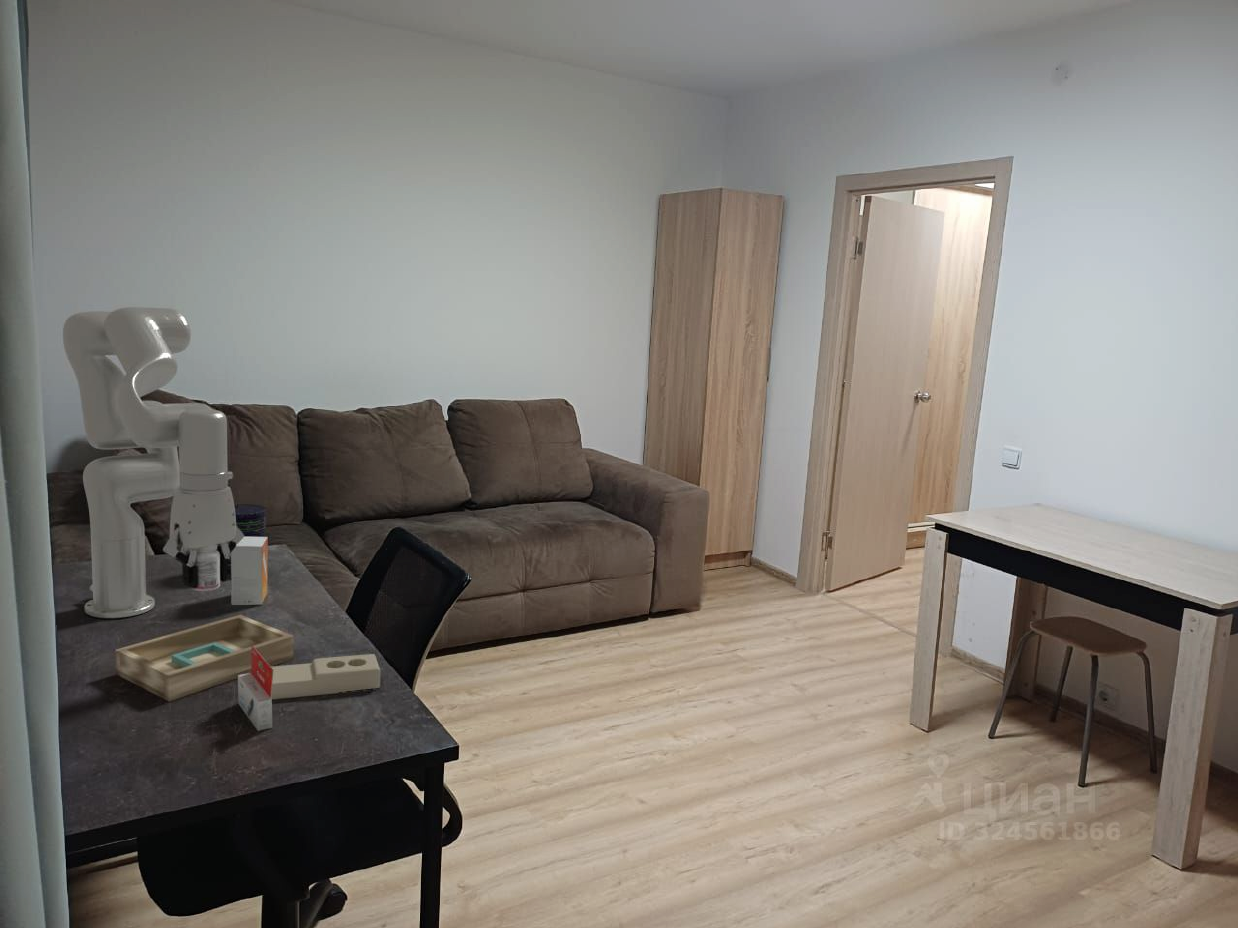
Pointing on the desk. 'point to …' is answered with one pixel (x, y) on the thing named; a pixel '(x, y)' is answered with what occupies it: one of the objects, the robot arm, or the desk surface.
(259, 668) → the ink cartridge box
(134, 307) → the robot arm
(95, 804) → the desk surface
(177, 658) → the collar
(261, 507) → the storage jar
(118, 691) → the desk surface
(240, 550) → the small box
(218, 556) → the pill bottle
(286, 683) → the beige stepped holder block
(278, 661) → the walled box
